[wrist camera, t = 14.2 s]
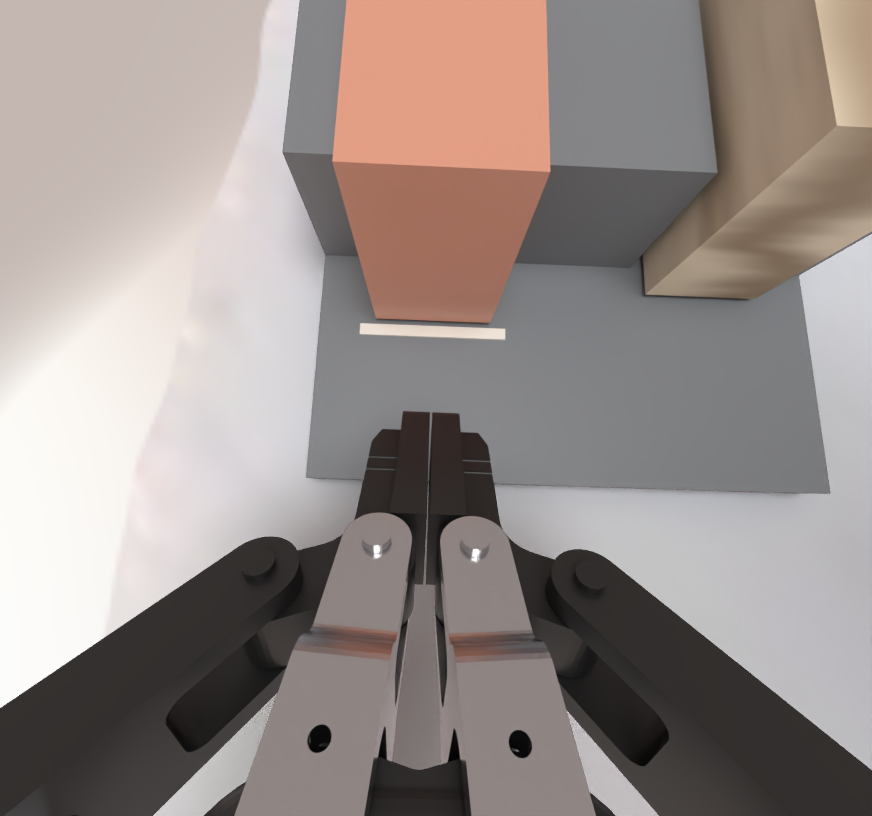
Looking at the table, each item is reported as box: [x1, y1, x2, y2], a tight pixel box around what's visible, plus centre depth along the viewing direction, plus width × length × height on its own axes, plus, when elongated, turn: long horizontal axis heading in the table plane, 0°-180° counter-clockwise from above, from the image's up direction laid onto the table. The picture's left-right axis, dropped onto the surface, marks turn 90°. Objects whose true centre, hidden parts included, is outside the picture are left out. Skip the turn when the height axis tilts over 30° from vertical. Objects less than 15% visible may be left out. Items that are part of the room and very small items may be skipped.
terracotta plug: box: [332, 0, 550, 323], centre depth 15 cm, size 5×10×9 cm, turn 178°
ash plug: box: [643, 0, 872, 299], centre depth 16 cm, size 5×10×9 cm, turn 178°
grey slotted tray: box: [283, 0, 872, 494], centre depth 17 cm, size 22×20×8 cm
